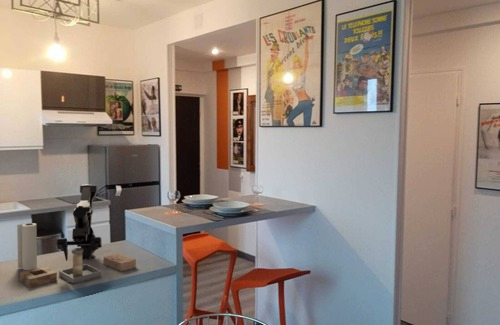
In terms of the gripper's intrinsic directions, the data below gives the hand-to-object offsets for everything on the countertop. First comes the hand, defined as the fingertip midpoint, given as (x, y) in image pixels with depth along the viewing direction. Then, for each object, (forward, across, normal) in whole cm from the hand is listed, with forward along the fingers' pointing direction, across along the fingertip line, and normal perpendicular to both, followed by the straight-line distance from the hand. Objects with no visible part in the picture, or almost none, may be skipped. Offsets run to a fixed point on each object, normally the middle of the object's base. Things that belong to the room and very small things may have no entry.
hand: (77, 260), depth 179 cm
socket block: (+5, -16, +7) cm, 19 cm away
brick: (-4, +17, +17) cm, 24 cm away
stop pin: (+6, 0, +6) cm, 8 cm away
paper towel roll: (-6, -24, +19) cm, 31 cm away
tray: (+4, +1, +8) cm, 9 cm away
